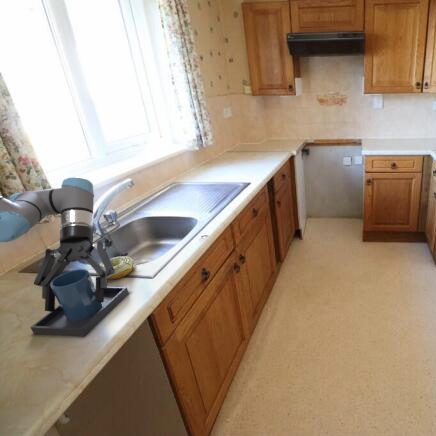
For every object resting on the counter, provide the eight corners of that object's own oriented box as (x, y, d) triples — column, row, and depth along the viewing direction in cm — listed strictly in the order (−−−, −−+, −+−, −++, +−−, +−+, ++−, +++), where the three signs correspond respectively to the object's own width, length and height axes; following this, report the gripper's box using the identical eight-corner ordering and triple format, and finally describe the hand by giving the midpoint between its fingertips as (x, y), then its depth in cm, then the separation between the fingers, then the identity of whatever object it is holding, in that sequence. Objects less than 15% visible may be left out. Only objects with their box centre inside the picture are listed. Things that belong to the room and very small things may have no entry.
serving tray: (85, 292, 98) (83, 285, 97) (129, 293, 96) (126, 287, 95) (33, 334, 82) (30, 327, 81) (84, 336, 81) (81, 329, 80)
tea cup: (66, 309, 90) (50, 277, 85) (100, 297, 94) (87, 265, 90) (67, 325, 84) (50, 291, 79) (103, 311, 89) (89, 278, 84)
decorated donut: (104, 286, 100) (99, 276, 99) (95, 273, 107) (91, 263, 106) (139, 271, 107) (136, 261, 105) (129, 260, 114) (125, 250, 112)
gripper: (127, 226, 98) (129, 298, 91) (38, 239, 93) (32, 317, 86) (116, 217, 91) (118, 294, 84) (19, 231, 86) (12, 314, 79)
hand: (75, 306), depth 85 cm, fingers open, 11 cm apart
